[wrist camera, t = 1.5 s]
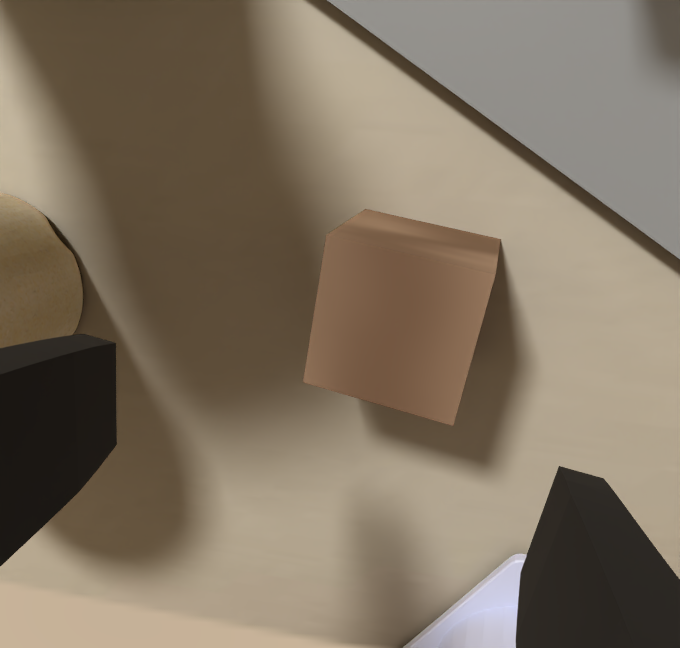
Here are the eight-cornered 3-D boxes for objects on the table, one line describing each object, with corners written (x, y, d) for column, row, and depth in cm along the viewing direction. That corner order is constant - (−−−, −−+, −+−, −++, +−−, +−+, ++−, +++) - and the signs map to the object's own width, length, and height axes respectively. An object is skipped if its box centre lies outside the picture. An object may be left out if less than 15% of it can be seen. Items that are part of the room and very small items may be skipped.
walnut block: (500, 238, 17) (495, 274, 13) (466, 362, 18) (452, 426, 15) (366, 208, 17) (326, 234, 14) (344, 330, 19) (303, 382, 15)
